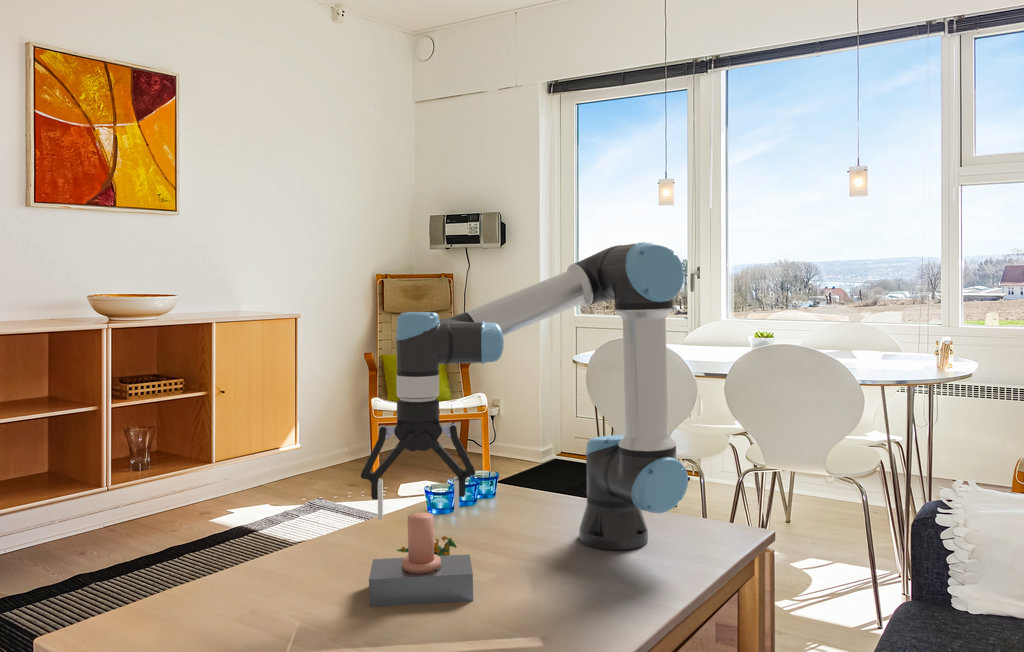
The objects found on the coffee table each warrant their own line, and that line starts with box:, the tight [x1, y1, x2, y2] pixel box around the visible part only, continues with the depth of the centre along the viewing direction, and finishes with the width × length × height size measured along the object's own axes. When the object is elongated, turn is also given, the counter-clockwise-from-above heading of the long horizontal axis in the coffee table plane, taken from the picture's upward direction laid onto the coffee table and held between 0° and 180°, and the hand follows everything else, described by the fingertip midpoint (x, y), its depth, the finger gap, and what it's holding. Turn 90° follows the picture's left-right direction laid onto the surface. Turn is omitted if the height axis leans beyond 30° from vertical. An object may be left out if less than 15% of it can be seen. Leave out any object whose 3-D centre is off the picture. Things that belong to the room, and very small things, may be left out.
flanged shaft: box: [402, 511, 441, 574], centre depth 138 cm, size 7×7×14 cm
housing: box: [368, 553, 474, 608], centre depth 138 cm, size 18×10×6 cm, turn 96°
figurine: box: [396, 535, 458, 556], centre depth 152 cm, size 3×12×8 cm, turn 103°
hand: (418, 516), depth 138 cm, fingers open, 13 cm apart
